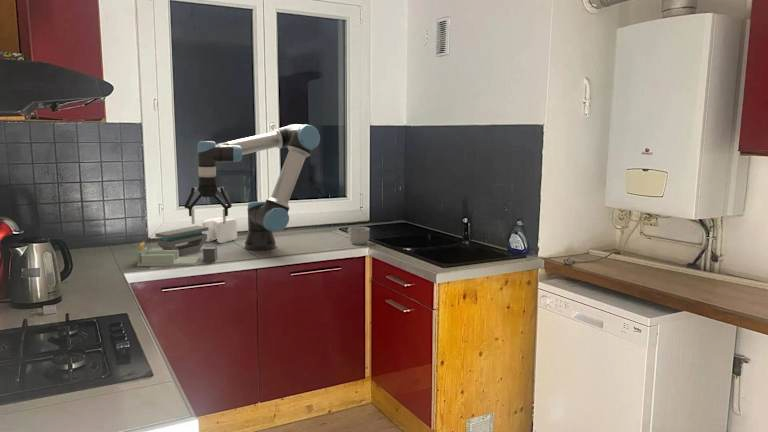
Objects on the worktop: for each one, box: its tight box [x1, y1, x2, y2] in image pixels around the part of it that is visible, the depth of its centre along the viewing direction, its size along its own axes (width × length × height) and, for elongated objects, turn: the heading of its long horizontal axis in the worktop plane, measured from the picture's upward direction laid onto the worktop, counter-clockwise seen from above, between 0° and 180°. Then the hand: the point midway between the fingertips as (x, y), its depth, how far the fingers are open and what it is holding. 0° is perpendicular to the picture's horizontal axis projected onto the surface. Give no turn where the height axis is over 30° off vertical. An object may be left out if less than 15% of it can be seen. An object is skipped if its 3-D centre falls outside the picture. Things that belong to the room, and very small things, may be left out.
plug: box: [202, 245, 218, 263], centre depth 270 cm, size 7×5×6 cm
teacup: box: [347, 226, 371, 246], centre depth 312 cm, size 14×11×8 cm
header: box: [136, 241, 201, 267], centre depth 264 cm, size 24×12×9 cm, turn 97°
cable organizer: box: [202, 217, 238, 244], centre depth 312 cm, size 15×11×12 cm
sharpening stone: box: [154, 225, 209, 257], centre depth 284 cm, size 25×8×11 cm, turn 151°
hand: (208, 223), depth 268 cm, fingers open, 13 cm apart
